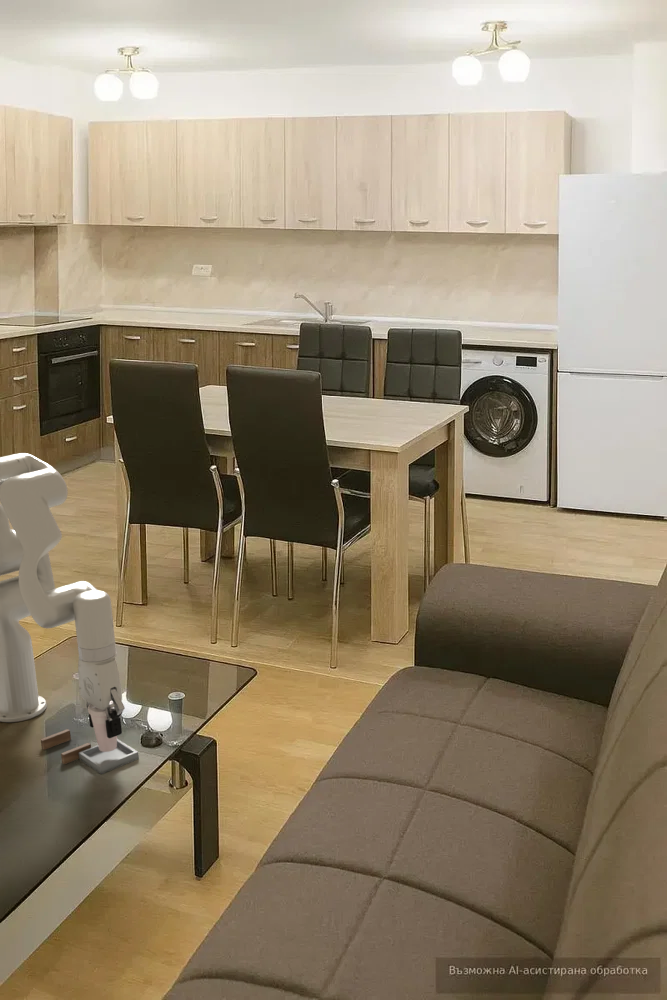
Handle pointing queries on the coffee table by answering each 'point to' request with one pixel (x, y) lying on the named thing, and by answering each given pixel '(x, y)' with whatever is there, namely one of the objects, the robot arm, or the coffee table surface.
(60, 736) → the brown parallel rails
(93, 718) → the smoothie
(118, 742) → the tray
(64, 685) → the coffee table surface
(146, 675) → the coffee table surface
